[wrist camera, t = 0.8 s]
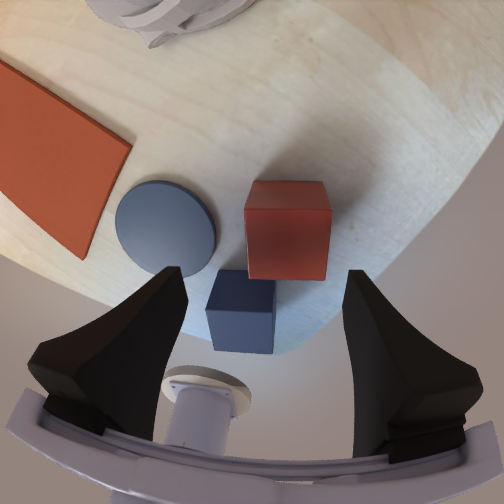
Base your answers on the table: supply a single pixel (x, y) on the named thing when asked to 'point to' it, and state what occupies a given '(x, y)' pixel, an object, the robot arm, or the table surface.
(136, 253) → the blue coaster
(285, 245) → the red block
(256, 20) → the table surface
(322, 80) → the table surface
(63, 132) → the terracotta mat
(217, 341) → the blue block
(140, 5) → the grey mechanical part
